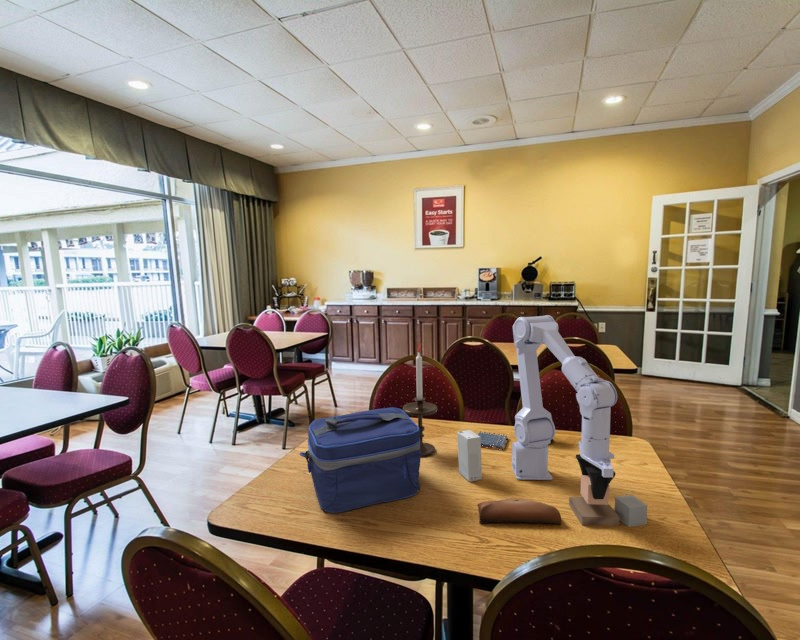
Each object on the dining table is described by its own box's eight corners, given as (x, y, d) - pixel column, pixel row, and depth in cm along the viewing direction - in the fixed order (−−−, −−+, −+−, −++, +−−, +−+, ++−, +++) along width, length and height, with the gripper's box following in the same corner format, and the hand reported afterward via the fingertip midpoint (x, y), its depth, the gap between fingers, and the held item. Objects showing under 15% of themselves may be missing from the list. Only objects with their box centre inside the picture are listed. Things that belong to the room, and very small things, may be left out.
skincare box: (482, 479, 111) (482, 436, 109) (468, 482, 109) (467, 439, 108) (471, 469, 117) (471, 428, 115) (457, 472, 115) (456, 431, 114)
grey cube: (628, 527, 89) (629, 507, 88) (614, 515, 93) (614, 497, 93) (646, 524, 90) (647, 505, 89) (631, 513, 94) (632, 494, 94)
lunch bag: (308, 523, 93) (304, 436, 91) (296, 480, 113) (292, 409, 110) (430, 493, 104) (429, 416, 102) (400, 460, 124) (398, 394, 122)
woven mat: (471, 448, 132) (471, 442, 132) (478, 436, 142) (478, 430, 142) (503, 452, 128) (503, 446, 128) (508, 440, 138) (508, 434, 138)
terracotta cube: (587, 504, 91) (588, 485, 91) (580, 493, 95) (580, 475, 95) (608, 504, 91) (609, 485, 90) (600, 493, 95) (600, 475, 95)
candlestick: (442, 447, 132) (441, 340, 128) (429, 461, 123) (427, 346, 119) (412, 441, 137) (410, 339, 133) (397, 454, 128) (395, 344, 124)
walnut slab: (582, 527, 90) (582, 516, 90) (568, 506, 98) (569, 497, 97) (619, 527, 89) (619, 516, 89) (603, 507, 97) (603, 497, 97)
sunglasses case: (550, 504, 98) (555, 489, 94) (558, 534, 92) (563, 519, 88) (474, 503, 99) (476, 488, 95) (478, 532, 94) (479, 518, 90)
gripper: (629, 448, 84) (627, 510, 85) (600, 423, 98) (598, 477, 100) (594, 448, 84) (592, 510, 86) (570, 423, 99) (569, 476, 100)
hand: (593, 492), depth 93 cm, fingers closed on terracotta cube, 4 cm apart
